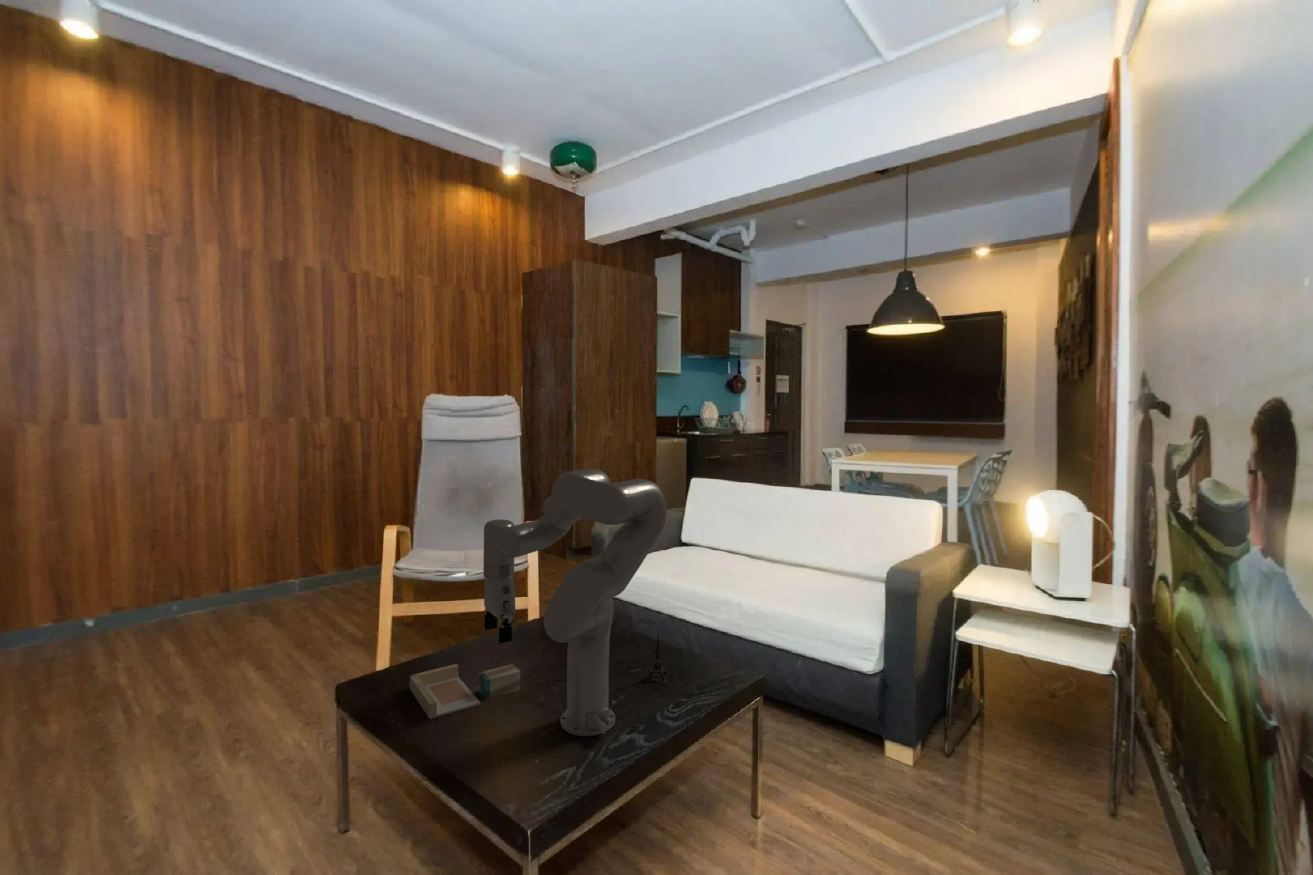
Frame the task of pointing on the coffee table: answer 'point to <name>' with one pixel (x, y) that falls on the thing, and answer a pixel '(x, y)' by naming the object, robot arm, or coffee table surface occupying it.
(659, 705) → the coffee table surface
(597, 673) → the robot arm
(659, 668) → the eiffel tower figurine
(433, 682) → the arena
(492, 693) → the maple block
